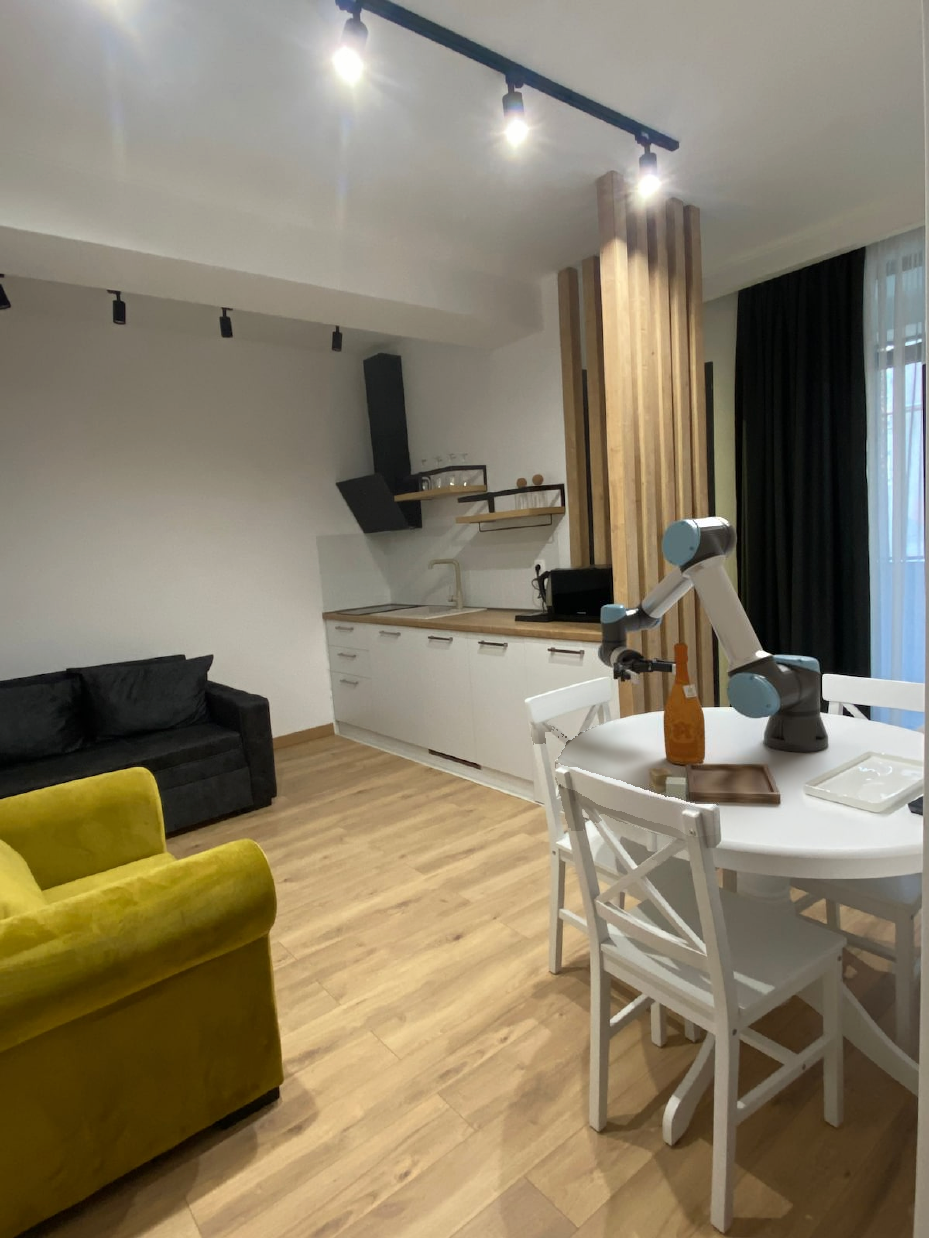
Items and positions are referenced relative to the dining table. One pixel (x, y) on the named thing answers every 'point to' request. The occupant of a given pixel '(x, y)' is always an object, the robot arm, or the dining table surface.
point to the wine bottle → (683, 716)
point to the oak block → (659, 779)
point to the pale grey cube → (676, 787)
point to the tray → (732, 783)
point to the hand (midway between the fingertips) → (661, 676)
